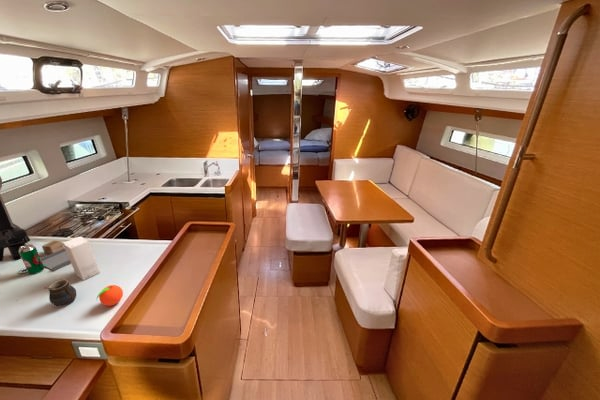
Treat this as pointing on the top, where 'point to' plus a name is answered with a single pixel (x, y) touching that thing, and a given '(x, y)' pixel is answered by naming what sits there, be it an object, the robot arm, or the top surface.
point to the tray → (56, 260)
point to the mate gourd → (61, 293)
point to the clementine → (110, 295)
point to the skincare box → (81, 257)
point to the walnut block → (52, 247)
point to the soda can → (31, 259)
